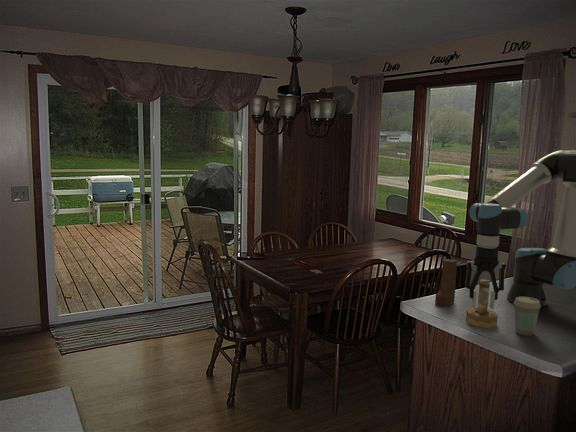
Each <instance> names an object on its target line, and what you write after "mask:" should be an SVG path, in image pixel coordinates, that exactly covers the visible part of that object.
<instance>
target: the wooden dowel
mask: <svg viewBox="0 0 576 432" xmlns="http://www.w3.org/2000/svg"><path fill="white" fill-rule="evenodd" d="M490 283H491V281H490V280H488V279H479V285H478V298H477V307H476V308H477V313H478V314H483V315H487V309H489V308H488V307H489V305H488V304H489V295H490V285H491V284H490Z"/></svg>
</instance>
